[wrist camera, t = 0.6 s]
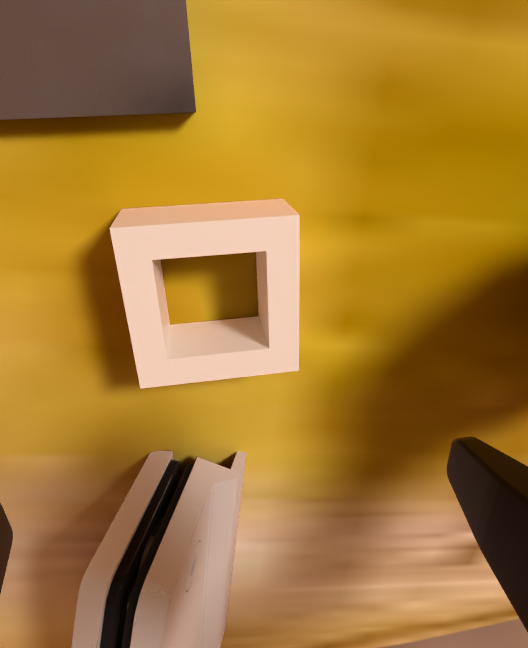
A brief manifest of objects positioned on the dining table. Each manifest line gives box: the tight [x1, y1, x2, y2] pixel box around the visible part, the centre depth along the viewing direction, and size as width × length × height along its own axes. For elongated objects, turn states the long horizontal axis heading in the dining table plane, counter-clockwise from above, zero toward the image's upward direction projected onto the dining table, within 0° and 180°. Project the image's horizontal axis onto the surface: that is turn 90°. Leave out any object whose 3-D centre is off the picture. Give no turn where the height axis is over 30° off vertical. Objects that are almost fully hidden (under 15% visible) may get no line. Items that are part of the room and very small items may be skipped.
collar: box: [110, 199, 299, 389], centre depth 18 cm, size 6×6×3 cm
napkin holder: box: [71, 451, 246, 648], centre depth 23 cm, size 17×5×10 cm, turn 173°
